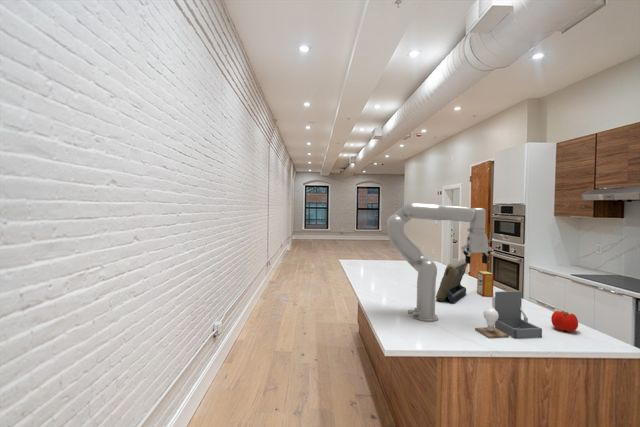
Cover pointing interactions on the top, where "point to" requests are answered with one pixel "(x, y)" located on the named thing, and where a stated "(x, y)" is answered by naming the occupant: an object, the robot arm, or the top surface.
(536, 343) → the top surface
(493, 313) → the lightbulb
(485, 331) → the walnut board
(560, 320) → the tomato
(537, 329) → the equipment case
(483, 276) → the baking soda box
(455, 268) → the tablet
